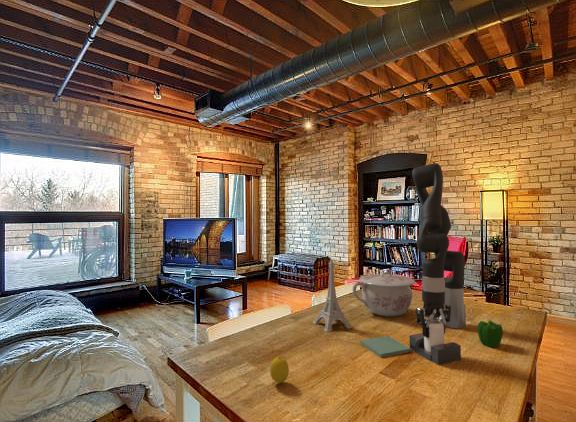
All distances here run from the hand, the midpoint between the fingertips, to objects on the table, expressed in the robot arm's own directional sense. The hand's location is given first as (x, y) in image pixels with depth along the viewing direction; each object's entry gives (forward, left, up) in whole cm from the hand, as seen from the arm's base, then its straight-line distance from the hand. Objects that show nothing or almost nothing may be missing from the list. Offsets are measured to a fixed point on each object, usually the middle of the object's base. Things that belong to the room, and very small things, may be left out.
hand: (433, 335), depth 114 cm
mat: (+13, -11, -7) cm, 18 cm away
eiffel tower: (+20, -40, -7) cm, 45 cm away
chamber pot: (-14, -46, -7) cm, 49 cm away
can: (0, 0, -7) cm, 7 cm away
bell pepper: (-26, +1, -7) cm, 27 cm away
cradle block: (0, 0, -7) cm, 7 cm away
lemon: (+58, -1, -7) cm, 58 cm away
